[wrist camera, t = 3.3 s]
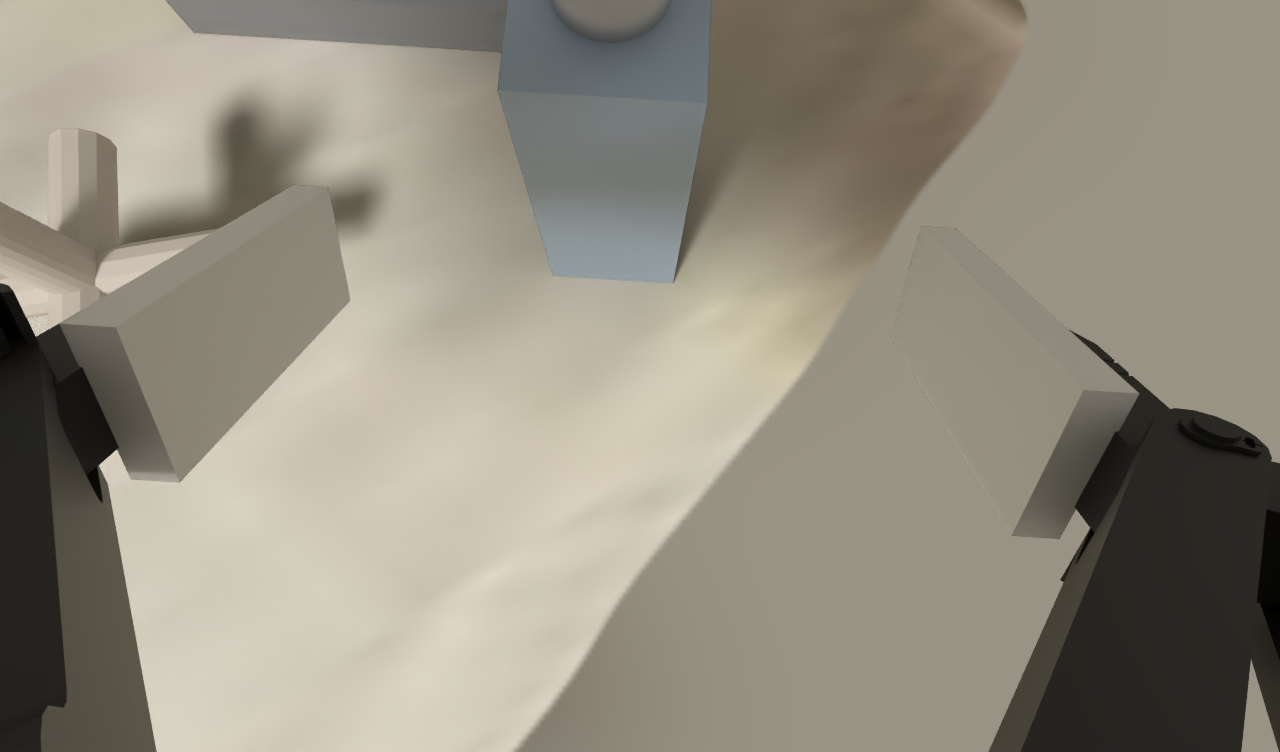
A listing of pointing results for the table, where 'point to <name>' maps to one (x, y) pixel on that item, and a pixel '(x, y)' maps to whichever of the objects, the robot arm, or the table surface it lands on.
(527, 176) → the block
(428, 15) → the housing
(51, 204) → the pipe connector
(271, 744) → the table surface
